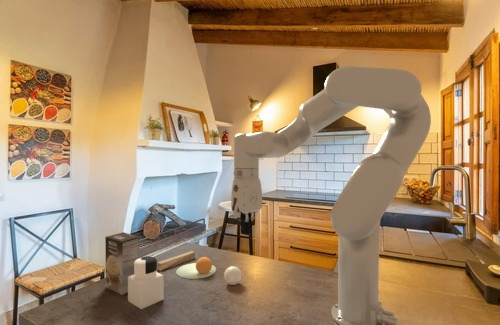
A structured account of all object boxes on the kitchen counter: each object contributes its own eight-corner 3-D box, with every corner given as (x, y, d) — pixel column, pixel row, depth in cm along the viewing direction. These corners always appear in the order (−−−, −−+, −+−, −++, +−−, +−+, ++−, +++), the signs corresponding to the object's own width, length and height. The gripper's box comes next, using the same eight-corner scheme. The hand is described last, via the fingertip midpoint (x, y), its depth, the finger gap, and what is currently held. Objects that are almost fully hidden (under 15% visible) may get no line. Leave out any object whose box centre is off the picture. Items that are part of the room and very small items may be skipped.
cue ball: (234, 260, 94) (230, 274, 96) (222, 265, 90) (218, 280, 91) (247, 270, 91) (242, 284, 92) (235, 276, 87) (230, 291, 88)
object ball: (206, 252, 103) (203, 266, 104) (194, 256, 99) (191, 270, 100) (216, 260, 100) (213, 274, 101) (204, 264, 95) (201, 279, 96)
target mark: (224, 269, 103) (224, 268, 103) (194, 282, 92) (194, 282, 92) (198, 260, 112) (198, 260, 112) (168, 271, 101) (168, 271, 101)
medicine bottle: (150, 292, 86) (150, 252, 86) (164, 299, 81) (163, 257, 81) (127, 301, 80) (127, 259, 80) (141, 310, 76) (140, 265, 76)
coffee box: (104, 287, 89) (103, 236, 89) (123, 280, 94) (123, 231, 94) (121, 295, 84) (121, 241, 84) (140, 287, 89) (140, 236, 89)
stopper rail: (195, 258, 115) (195, 251, 115) (160, 270, 102) (160, 263, 102) (191, 257, 116) (191, 250, 116) (157, 269, 103) (157, 262, 103)
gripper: (239, 176, 79) (239, 242, 79) (270, 173, 91) (270, 231, 91) (220, 175, 84) (220, 237, 84) (251, 172, 95) (251, 227, 96)
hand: (246, 233), depth 88 cm, fingers closed
